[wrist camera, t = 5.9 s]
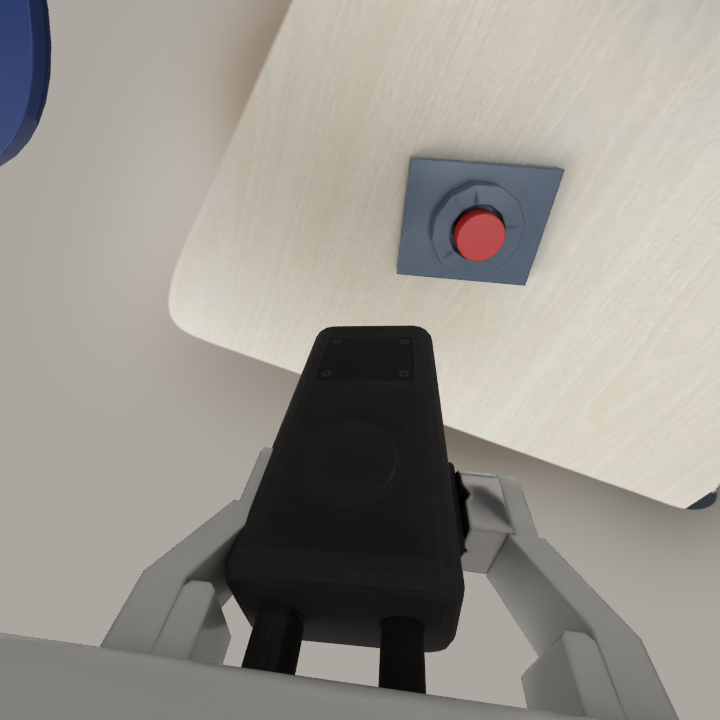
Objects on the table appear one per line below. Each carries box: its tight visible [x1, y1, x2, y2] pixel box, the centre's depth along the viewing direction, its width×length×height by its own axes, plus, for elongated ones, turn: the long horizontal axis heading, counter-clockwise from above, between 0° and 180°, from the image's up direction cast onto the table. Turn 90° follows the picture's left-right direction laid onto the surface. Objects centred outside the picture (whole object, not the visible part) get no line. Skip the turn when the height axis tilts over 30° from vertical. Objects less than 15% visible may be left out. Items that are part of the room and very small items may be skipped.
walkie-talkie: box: [225, 326, 465, 694], centre depth 8 cm, size 5×3×15 cm
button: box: [454, 209, 505, 261], centre depth 23 cm, size 3×3×2 cm
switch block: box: [397, 157, 564, 285], centre depth 25 cm, size 10×8×3 cm
